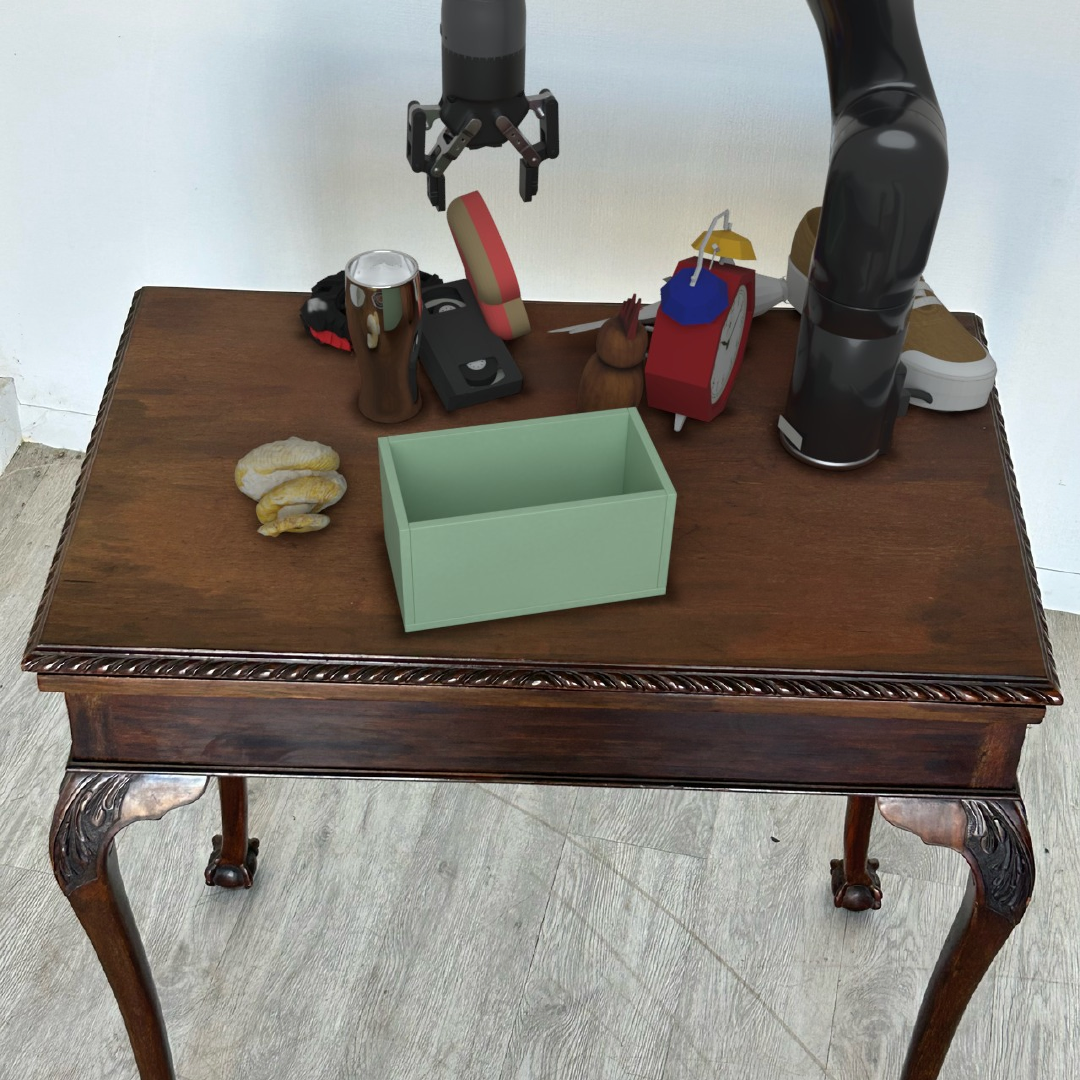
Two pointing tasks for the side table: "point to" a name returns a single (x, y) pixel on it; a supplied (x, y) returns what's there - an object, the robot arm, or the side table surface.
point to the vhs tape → (463, 348)
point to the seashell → (291, 484)
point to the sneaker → (916, 337)
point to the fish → (765, 287)
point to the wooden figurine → (616, 363)
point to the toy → (337, 310)
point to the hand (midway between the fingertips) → (483, 203)
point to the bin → (525, 517)
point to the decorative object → (487, 266)
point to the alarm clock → (701, 328)
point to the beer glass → (385, 332)
